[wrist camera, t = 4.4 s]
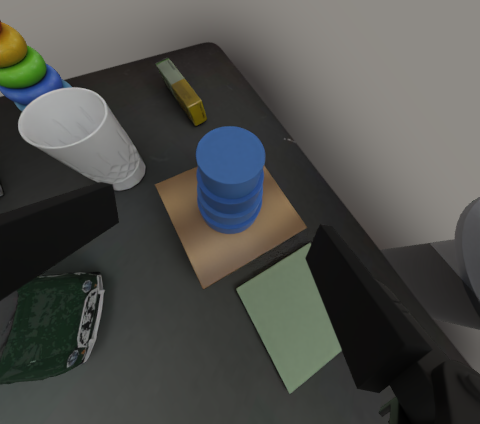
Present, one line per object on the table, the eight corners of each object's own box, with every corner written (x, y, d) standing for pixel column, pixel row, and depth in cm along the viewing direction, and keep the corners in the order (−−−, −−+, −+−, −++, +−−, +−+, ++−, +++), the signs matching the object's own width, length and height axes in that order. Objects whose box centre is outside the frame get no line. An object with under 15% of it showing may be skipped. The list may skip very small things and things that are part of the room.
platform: (295, 234, 25) (307, 227, 21) (207, 286, 22) (202, 289, 18) (246, 161, 28) (249, 144, 24) (165, 197, 25) (154, 184, 21)
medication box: (164, 85, 33) (154, 62, 29) (177, 79, 33) (168, 55, 29) (194, 127, 29) (187, 107, 26) (208, 120, 30) (202, 99, 26)
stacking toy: (41, 142, 27) (-320, -104, 9) (61, 105, 30) (-190, -143, 12) (92, 147, 27) (-160, -83, 10) (108, 109, 30) (-67, -124, 12)
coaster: (366, 327, 21) (368, 328, 21) (288, 392, 19) (289, 394, 18) (309, 242, 24) (310, 242, 24) (235, 288, 22) (235, 288, 21)
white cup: (86, 189, 25) (-2, 140, 15) (108, 146, 27) (45, 81, 18) (139, 198, 25) (85, 154, 15) (156, 154, 27) (119, 94, 18)
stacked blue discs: (269, 216, 21) (302, 172, 12) (217, 245, 19) (206, 221, 10) (240, 171, 23) (249, 101, 13) (190, 194, 21) (161, 133, 12)
